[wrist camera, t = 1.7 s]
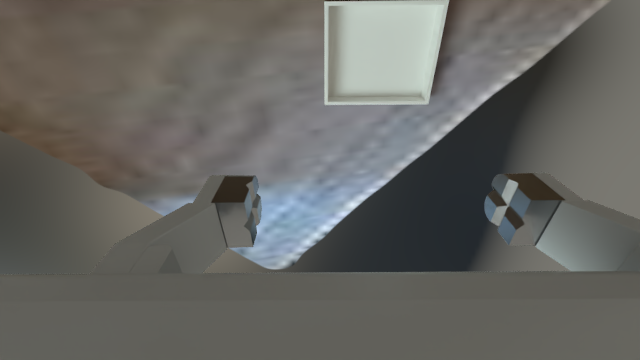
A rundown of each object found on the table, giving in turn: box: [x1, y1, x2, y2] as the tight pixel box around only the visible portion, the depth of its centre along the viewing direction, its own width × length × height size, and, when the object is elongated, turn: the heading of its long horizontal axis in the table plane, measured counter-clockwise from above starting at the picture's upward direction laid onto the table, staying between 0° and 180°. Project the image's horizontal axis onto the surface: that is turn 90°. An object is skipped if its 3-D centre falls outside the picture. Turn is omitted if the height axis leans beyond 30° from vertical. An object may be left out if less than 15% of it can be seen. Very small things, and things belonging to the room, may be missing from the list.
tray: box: [324, 0, 449, 105], centre depth 33 cm, size 13×11×2 cm
